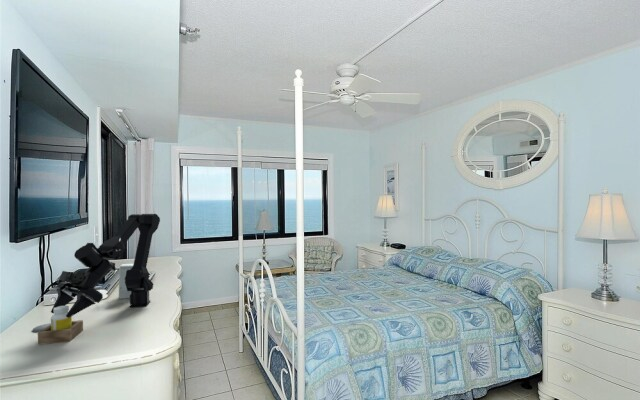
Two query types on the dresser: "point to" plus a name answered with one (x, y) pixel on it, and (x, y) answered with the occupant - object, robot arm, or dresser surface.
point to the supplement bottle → (60, 318)
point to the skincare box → (122, 287)
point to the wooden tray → (60, 333)
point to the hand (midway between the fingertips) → (59, 314)
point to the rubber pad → (40, 327)
